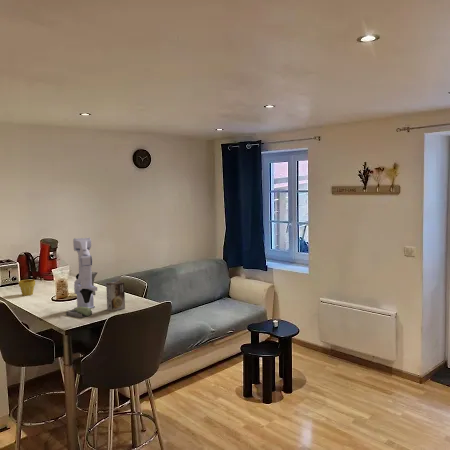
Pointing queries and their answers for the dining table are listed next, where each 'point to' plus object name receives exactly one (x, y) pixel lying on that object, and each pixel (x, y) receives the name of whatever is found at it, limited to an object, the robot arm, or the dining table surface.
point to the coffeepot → (92, 279)
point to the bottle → (83, 310)
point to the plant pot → (27, 287)
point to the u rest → (76, 314)
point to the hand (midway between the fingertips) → (86, 302)
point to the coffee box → (115, 295)
